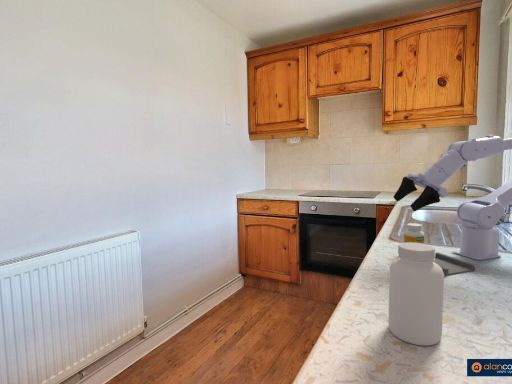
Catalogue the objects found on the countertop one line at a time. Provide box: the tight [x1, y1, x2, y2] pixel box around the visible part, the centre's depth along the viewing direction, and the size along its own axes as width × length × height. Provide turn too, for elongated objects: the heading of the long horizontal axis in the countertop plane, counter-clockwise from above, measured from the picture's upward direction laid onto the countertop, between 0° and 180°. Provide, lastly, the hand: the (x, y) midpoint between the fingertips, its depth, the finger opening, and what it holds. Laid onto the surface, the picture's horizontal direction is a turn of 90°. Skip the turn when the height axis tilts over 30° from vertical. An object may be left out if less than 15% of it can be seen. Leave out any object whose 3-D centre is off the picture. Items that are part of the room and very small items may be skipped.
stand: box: [434, 252, 476, 277], centre depth 81 cm, size 10×11×2 cm
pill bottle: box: [387, 242, 445, 347], centre depth 50 cm, size 8×8×15 cm
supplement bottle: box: [403, 222, 425, 244], centre depth 90 cm, size 5×5×10 cm
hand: (403, 203), depth 88 cm, fingers open, 7 cm apart
